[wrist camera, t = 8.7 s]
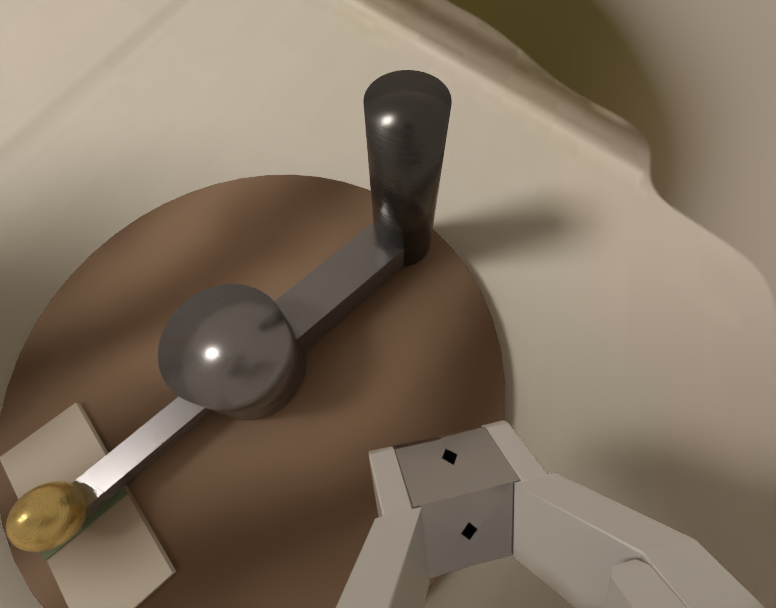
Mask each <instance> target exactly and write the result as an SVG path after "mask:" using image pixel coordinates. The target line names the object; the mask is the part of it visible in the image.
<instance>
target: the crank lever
mask: <svg viewBox="0 0 776 608" xmlns="http://www.w3.org/2000/svg"><path fill="white" fill-rule="evenodd" d="M450 110H451V95H450V92H449V90H448V88H447V87H446V86H445V85H444V84H443V83H442V82H441V81H440V80H439V79H437V78H436V77H434V76H432V75H430V74H427V73H424V72H420V71H414V70H401V71H395V72H391V73H388V74H385V75H383V76H381V77H379V78H378V79H376V80H375V81H374V82H373V83H372V84H371V85H370V86H369V87H368V89H367V90H366V92H365V95H364V113H365V125H366V137H367V150H368V162H369V174H370V186H371V198H372V210H373V223H372V224H371V225H369V226H368V227H367V228H366V229H364V230H363V231H362V232H361V233H359V234H358V235H357V236H356V237H354V238H353V239H352V240H351V241H349V242H348V243H347V244H346V245H344V246H343V247H342V248H341V249H339V250H338V251H337V252H336V253H334V254H333V255H332V256H331V257H329V258H328V259H327V260H326V261H324V262H323V263H322V264H321V265H319V266H318V267H317V268H316V269H314V270H313V271H312V272H310V273H309V274H308V275H307V276H305V277H304V278H303V279H302V280H300V281H299V282H298V283H297V284H295V285H294V286H293V287H292V288H290V289H289V290H288V291H287V292H285V293H284V294H283V295H282V296H280V297H279V298H278V299H277V300H275V301H274V300H272V299H271V298H270V297H269V296H268V295H267V294H265V293H264V292H262V291H260V290H258V289H256V288H254V287H251V286H247V285H242V284H224V285H218V286H214V287H211V288H208V289H206V290H203V291H201V292H199V293H197V294H195V295H194V296H192V297H191V298H189V299H188V300H187V301H185V302H184V303H183V304H182V305H181V306H180V307H179V308H178V309H177V310H176V311H175V312H174V313H173V315H172V316H171V317H170V319H169V320H168V322H167V323H166V325H165V327H164V329H163V332H162V334H161V337H160V341H159V346H158V365H159V369H160V373H161V375H162V377H163V379H164V381H165V383H166V384H167V386H168V387H169V388H170V389H171V390H172V391H173V392H174V393H175V394H176V395H177V396H179V397H177V398H176V399H175V400H174V401H173V402H171V403H170V404H169V405H168V406H166V407H165V408H164V409H163V410H161V411H160V412H159V413H158V414H156V415H155V416H154V417H153V418H152V419H150V420H149V421H148V422H147V423H145V424H144V425H143V426H142V427H140V428H139V429H138V430H137V431H136V432H134V433H133V434H132V435H131V436H129V437H128V438H127V439H126V440H124V441H123V442H122V443H121V444H120V445H118V446H117V447H116V448H115V449H113V450H112V451H111V452H110V453H108V454H107V455H106V456H105V457H103V458H102V459H101V460H100V461H99V462H97V463H96V464H95V465H94V466H92V467H91V468H90V469H89V470H87V471H86V472H85V473H84V474H83V475H81V476H80V477H79V478H78V479H76V480H75V481H74V482H73V483H71V482H67V481H52V482H47V483H44V484H41V485H39V486H36V487H34V488H33V489H31V490H29V491H28V492H26V493H25V494H24V495H23V496H21V497H20V498H19V499H18V501H17V502H16V503H15V504H14V505H13V507H12V508H11V510H10V512H9V515H8V517H7V521H6V533H7V536H8V539H9V540H10V542H11V543H12V544H13V545H14V546H16V547H17V548H19V549H21V550H24V551H28V552H42V551H47V550H50V549H53V548H55V547H57V546H59V545H61V544H63V543H65V542H66V541H68V540H69V539H70V538H71V537H72V536H74V535H75V534H76V532H77V531H78V530H79V529H80V528H81V526H82V525H83V523H84V521H85V519H87V518H88V517H89V516H90V515H91V514H92V513H94V512H95V511H96V510H97V509H98V508H100V507H101V506H102V505H103V504H104V503H105V502H107V501H108V500H109V499H110V498H111V497H113V496H114V495H115V494H116V493H117V492H118V491H120V490H121V489H122V488H123V487H124V486H126V485H127V484H128V483H129V482H130V481H131V480H133V479H134V478H135V477H136V476H137V475H139V474H140V473H141V472H142V471H143V470H144V469H146V468H147V467H148V466H149V465H150V464H152V463H153V462H154V461H155V460H156V459H157V458H159V457H160V456H161V455H162V454H163V453H165V452H166V451H167V450H168V449H169V448H170V447H172V446H173V445H174V444H175V443H176V442H178V441H179V440H180V439H181V438H182V437H184V436H185V435H186V434H187V433H188V432H189V431H191V430H192V429H193V428H194V427H195V426H197V425H198V424H199V423H200V422H201V421H202V420H204V419H205V418H206V417H207V416H208V415H210V414H211V413H212V412H213V411H215V412H217V413H220V414H223V415H225V416H228V417H231V418H234V419H238V420H255V419H261V418H264V417H267V416H269V415H272V414H274V413H275V412H277V411H279V410H280V409H282V408H283V407H284V406H285V405H287V404H288V403H289V402H290V401H291V400H292V398H293V397H294V396H295V395H296V393H297V392H298V390H299V388H300V386H301V384H302V382H303V379H304V376H305V372H306V353H305V351H306V350H307V349H308V348H309V347H311V346H312V345H313V344H314V343H315V342H316V341H318V340H319V339H320V338H321V337H322V336H323V335H325V334H326V333H327V332H328V331H329V330H330V329H332V328H333V327H334V326H335V325H336V324H337V323H338V322H340V321H341V320H342V319H343V318H344V317H345V316H347V315H348V314H349V313H350V312H351V311H352V310H354V309H355V308H356V307H357V306H358V305H359V304H361V303H362V302H363V301H364V300H365V299H366V298H368V297H369V296H370V295H371V294H372V293H373V292H375V291H376V290H377V289H378V288H379V287H380V286H381V285H383V284H384V283H385V282H386V281H387V280H388V279H390V278H391V277H392V276H393V275H394V274H395V273H397V272H398V271H399V270H400V269H401V268H402V267H406V266H411V265H414V264H416V263H418V262H420V261H421V260H422V259H423V258H424V257H425V256H426V255H427V253H428V251H429V248H430V242H431V235H432V229H433V222H434V215H435V209H436V202H437V196H438V189H439V182H440V176H441V169H442V163H443V156H444V149H445V143H446V136H447V130H448V123H449V117H450Z"/></svg>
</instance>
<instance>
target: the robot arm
mask: <svg viewBox="0 0 776 608" xmlns="http://www.w3.org/2000/svg"><path fill="white" fill-rule="evenodd" d="M369 460H370V467H371V473H372V480H373V486H374V493H375V499H376V505H377V510H378V516H379V518H375V520H374V522H373V525H372V527H371V529H370V531H369V534H368V536H367V538H366V540H365V543H364V545H363V547H362V550H361V552H360V554H359V556H358V559H357V561H356V563H355V565H354V568H353V570H352V572H351V575H350V577H349V579H348V581H347V584H346V586H345V588H344V590H343V593H342V595H341V597H340V600H339V602H338V604H337V606H336V608H424V605H425V601H426V596H427V591H428V587H429V579H430V578H433V577H436V576H439V575H442V574H446V573H449V572H452V571H455V570H458V569H461V568H464V567H468V566H471V565H475V564H479V563H483V562H487V561H491V560H495V559H499V558H503V557H507V556H511V555H513V558H514V559H516V560H517V561H518V562H519V563H521V564H522V565H523V566H524V567H525V568H527V569H528V570H529V571H530V572H532V573H533V574H534V575H535V576H536V577H538V578H539V579H540V580H541V581H543V582H544V583H545V584H546V585H548V586H549V587H550V588H551V589H552V590H554V591H555V592H556V593H557V594H559V595H560V596H561V597H562V598H563V599H565V600H566V601H567V602H568V603H570V604H571V605H572V606H573V607H574V608H765V607H764V606H763V605H762V604H761V603H760V602H759V601H758V600H756V599H755V598H754V597H753V596H752V595H751V594H750V593H749V592H748V591H747V590H746V589H745V588H744V587H743V586H742V585H741V584H740V583H739V582H738V581H737V580H736V579H735V578H734V577H733V576H732V575H731V574H730V573H729V572H728V571H727V570H726V569H725V568H724V567H723V566H722V565H721V564H720V563H719V562H718V561H717V560H716V559H715V558H714V557H713V556H712V555H711V554H710V553H709V552H708V551H707V550H706V549H704V548H703V547H702V546H701V545H700V544H699V543H698V542H697V541H696V540H695V539H693V538H691V537H689V536H687V535H685V534H683V533H681V532H679V531H677V530H674V529H672V528H670V527H668V526H666V525H664V524H662V523H660V522H658V521H656V520H653V519H651V518H649V517H647V516H645V515H643V514H641V513H639V512H637V511H635V510H633V509H630V508H628V507H626V506H624V505H622V504H620V503H618V502H616V501H614V500H612V499H609V498H607V497H605V496H603V495H601V494H599V493H597V492H595V491H593V490H591V489H589V488H586V487H584V486H582V485H580V484H578V483H576V482H574V481H572V480H570V479H568V478H565V477H563V476H561V475H559V474H557V473H552V474H548V473H547V472H546V471H545V469H544V468H543V467H542V466H541V464H540V463H539V462H538V460H537V459H536V458H535V457H534V455H533V454H532V453H531V451H530V450H529V449H528V448H527V446H526V445H525V444H524V443H523V441H522V440H521V439H520V437H519V436H518V435H517V434H516V432H515V431H514V430H513V428H512V427H511V426H510V425H509V423H508V422H506V421H504V420H502V421H498V422H494V423H490V424H486V425H482V426H481V427H476V428H471V429H467V430H463V431H459V432H455V433H450V434H446V435H442V436H438V437H433V438H428V439H423V440H418V441H413V442H408V443H404V444H399V445H394V446H393V447H392V446H391V447H386V448H381V449H376V450H372V451H369Z"/></svg>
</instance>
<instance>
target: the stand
mask: <svg viewBox="0 0 776 608" xmlns="http://www.w3.org/2000/svg"><path fill="white" fill-rule="evenodd" d="M372 223H373V210H372V198H371V191H370V190H367V189H364V188H361V187H358V186H355V185H352V184H348V183H345V182H341V181H336V180H331V179H326V178H321V177H312V176H300V175H266V176H258V177H250V178H242V179H237V180H233V181H228V182H224V183H219V184H215V185H212V186H209V187H206V188H203V189H200V190H197V191H194V192H191V193H188V194H186V195H183V196H181V197H179V198H177V199H174V200H172V201H170V202H167V203H165V204H163V205H161V206H160V207H158V208H156V209H154V210H152V211H151V212H149V213H147V214H145V215H143V216H142V217H140V218H138V219H137V220H135V221H134V222H132V223H131V224H130V225H128V226H127V227H125V228H124V229H122V230H121V231H119V232H118V233H116V234H115V235H114V236H113V237H111V238H110V239H109V240H108V241H107V242H106V243H104V244H103V245H102V246H101V247H100V248H98V249H97V250H96V251H95V252H94V253H92V254H91V255H90V256H89V258H88V259H87V260H86V261H85V262H84V263H83V264H82V265H81V266H80V267H79V268H78V269H77V270H76V271H75V272H74V273H73V274H72V275H71V276H70V277H69V278H68V280H67V281H66V282H65V283H64V285H63V286H62V287H61V288H60V290H59V291H58V292H57V293H56V295H55V296H54V297H53V298H52V300H51V301H50V303H49V304H48V306H47V307H46V309H45V310H44V312H43V314H42V315H41V317H40V318H39V320H38V321H37V323H36V324H35V326H34V328H33V330H32V332H31V334H30V336H29V338H28V340H27V341H26V343H25V345H24V347H23V349H22V351H21V353H20V355H19V358H18V360H17V363H16V366H15V369H14V371H13V374H12V377H11V379H10V382H9V385H8V387H7V391H6V396H5V400H4V404H3V408H2V412H1V416H0V514H1V519H2V525H3V528H4V531H5V534H6V537H7V540H8V543H9V546H10V549H11V552H12V555H13V558H14V561H15V562H16V564H17V566H18V568H19V570H20V572H21V573H22V575H23V577H24V579H25V581H26V583H27V585H28V586H29V588H30V590H31V592H32V593H33V595H34V596H35V597H36V598H37V600H38V601H39V602H40V604H41V605H42V606H43V607H44V608H336V606H337V604H338V602H339V600H340V597H341V595H342V593H343V590H344V588H345V586H346V584H347V581H348V579H349V577H350V575H351V572H352V570H353V568H354V565H355V563H356V561H357V559H358V556H359V554H360V552H361V550H362V547H363V545H364V543H365V540H366V538H367V536H368V534H369V531H370V529H371V527H372V525H373V522H374V520H375V518H379V516H378V510H377V505H376V499H375V493H374V486H373V480H372V473H371V467H370V460H369V451H372V450H376V449H381V448H386V447H391V446H392V447H393V446H394V445H399V444H404V443H408V442H413V441H418V440H423V439H428V438H433V437H438V436H442V435H446V434H450V433H455V432H459V431H463V430H467V429H471V428H476V427H481V426H482V425H486V424H490V423H494V422H498V421H502V420H504V373H503V365H502V357H501V350H500V346H499V342H498V338H497V334H496V331H495V327H494V323H493V319H492V317H491V315H490V312H489V310H488V307H487V305H486V303H485V300H484V298H483V295H482V293H481V291H480V289H479V288H478V286H477V284H476V283H475V281H474V279H473V277H472V276H471V274H470V272H469V270H468V269H467V267H466V266H465V265H464V263H463V262H462V261H461V260H460V258H459V257H458V256H457V254H456V253H455V252H454V250H453V249H452V248H451V247H450V246H449V245H448V244H447V243H446V242H445V241H444V240H443V239H442V238H441V237H440V236H439V235H438V234H437V233H436V232H435V231H434V230H433V229H432V235H431V242H430V248H429V251H428V253H427V255H426V256H425V257H424V258H423V259H422V260H421V261H420V262H418V263H416V264H414V265H411V266H406V267H402V268H401V269H400V270H399V271H398V272H397V273H395V274H394V275H393V276H392V277H391V278H390V279H388V280H387V281H386V282H385V283H384V284H383V285H381V286H380V287H379V288H378V289H377V290H376V291H375V292H373V293H372V294H371V295H370V296H369V297H368V298H366V299H365V300H364V301H363V302H362V303H361V304H359V305H358V306H357V307H356V308H355V309H354V310H352V311H351V312H350V313H349V314H348V315H347V316H345V317H344V318H343V319H342V320H341V321H340V322H338V323H337V324H336V325H335V326H334V327H333V328H332V329H330V330H329V331H328V332H327V333H326V334H325V335H323V336H322V337H321V338H320V339H319V340H318V341H316V342H315V343H314V344H313V345H312V346H311V347H309V348H308V349H307V350H306V351H305V353H306V372H305V376H304V379H303V382H302V384H301V386H300V388H299V390H298V392H297V393H296V395H295V396H294V397H293V398H292V400H291V401H290V402H289V403H288V404H287V405H285V406H284V407H283V408H282V409H280V410H279V411H277V412H275V413H274V414H272V415H269V416H267V417H264V418H261V419H255V420H238V419H234V418H231V417H228V416H225V415H223V414H220V413H217V412H215V411H213V412H212V413H211V414H210V415H208V416H207V417H206V418H205V419H204V420H202V421H201V422H200V423H199V424H198V425H197V426H195V427H194V428H193V429H192V430H191V431H189V432H188V433H187V434H186V435H185V436H184V437H182V438H181V439H180V440H179V441H178V442H176V443H175V444H174V445H173V446H172V447H170V448H169V449H168V450H167V451H166V452H165V453H163V454H162V455H161V456H160V457H159V458H157V459H156V460H155V461H154V462H153V463H152V464H150V465H149V466H148V467H147V468H146V469H144V470H143V471H142V472H141V473H140V474H139V475H137V476H136V477H135V478H134V479H133V480H131V481H130V482H129V483H128V484H127V485H126V486H124V487H123V488H122V489H121V490H120V491H118V492H117V493H116V494H115V495H114V496H113V497H111V498H110V499H109V500H108V501H107V502H105V503H104V504H103V505H102V506H101V507H100V508H98V509H97V510H96V511H95V512H94V513H92V514H91V515H90V516H89V517H88V518H87V519H85V521H84V523H83V525H82V526H81V528H80V529H79V530H78V531H77V532H76V534H75V535H74V536H72V537H71V538H70V539H69V540H68V541H66V542H65V543H63V544H61V545H59V546H57V547H55V548H53V549H50V550H47V551H42V552H28V551H24V550H21V549H19V548H17V547H16V546H14V545H13V544H12V543H11V542H10V540H9V539H8V536H7V533H6V521H7V517H8V515H9V512H10V510H11V508H12V507H13V505H14V504H15V503H16V502H17V501H18V499H19V498H20V497H21V496H23V495H24V494H25V493H26V492H28V491H29V490H31V489H33V488H34V487H36V486H39V485H41V484H44V483H47V482H52V481H67V482H71V483H73V482H74V481H75V480H76V479H78V478H79V477H80V476H81V475H83V474H84V473H85V472H86V471H87V470H89V469H90V468H91V467H92V466H94V465H95V464H96V463H97V462H99V461H100V460H101V459H102V458H103V457H105V456H106V455H107V454H108V453H110V452H111V451H112V450H113V449H115V448H116V447H117V446H118V445H120V444H121V443H122V442H123V441H124V440H126V439H127V438H128V437H129V436H131V435H132V434H133V433H134V432H136V431H137V430H138V429H139V428H140V427H142V426H143V425H144V424H145V423H147V422H148V421H149V420H150V419H152V418H153V417H154V416H155V415H156V414H158V413H159V412H160V411H161V410H163V409H164V408H165V407H166V406H168V405H169V404H170V403H171V402H173V401H174V400H175V399H176V398H177V397H179V396H177V395H176V394H175V393H174V392H173V391H172V390H171V389H170V388H169V387H168V386H167V384H166V383H165V381H164V379H163V377H162V375H161V373H160V369H159V365H158V346H159V341H160V337H161V334H162V332H163V329H164V327H165V325H166V323H167V322H168V320H169V319H170V317H171V316H172V315H173V313H174V312H175V311H176V310H177V309H178V308H179V307H180V306H181V305H182V304H183V303H184V302H185V301H187V300H188V299H189V298H191V297H192V296H194V295H195V294H197V293H199V292H201V291H203V290H206V289H208V288H211V287H214V286H218V285H224V284H242V285H247V286H251V287H254V288H256V289H258V290H260V291H262V292H264V293H265V294H267V295H268V296H269V297H270V298H271V299H272V300H274V301H275V300H277V299H278V298H279V297H280V296H282V295H283V294H284V293H285V292H287V291H288V290H289V289H290V288H292V287H293V286H294V285H295V284H297V283H298V282H299V281H300V280H302V279H303V278H304V277H305V276H307V275H308V274H309V273H310V272H312V271H313V270H314V269H316V268H317V267H318V266H319V265H321V264H322V263H323V262H324V261H326V260H327V259H328V258H329V257H331V256H332V255H333V254H334V253H336V252H337V251H338V250H339V249H341V248H342V247H343V246H344V245H346V244H347V243H348V242H349V241H351V240H352V239H353V238H354V237H356V236H357V235H358V234H359V233H361V232H362V231H363V230H364V229H366V228H367V227H368V226H369V225H371V224H372ZM437 577H438V576H436V577H433V578H430V579H429V587H430V586H431V585H432V583H433V582H434V581H435V579H436V578H437ZM429 587H428V588H429Z"/></svg>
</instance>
